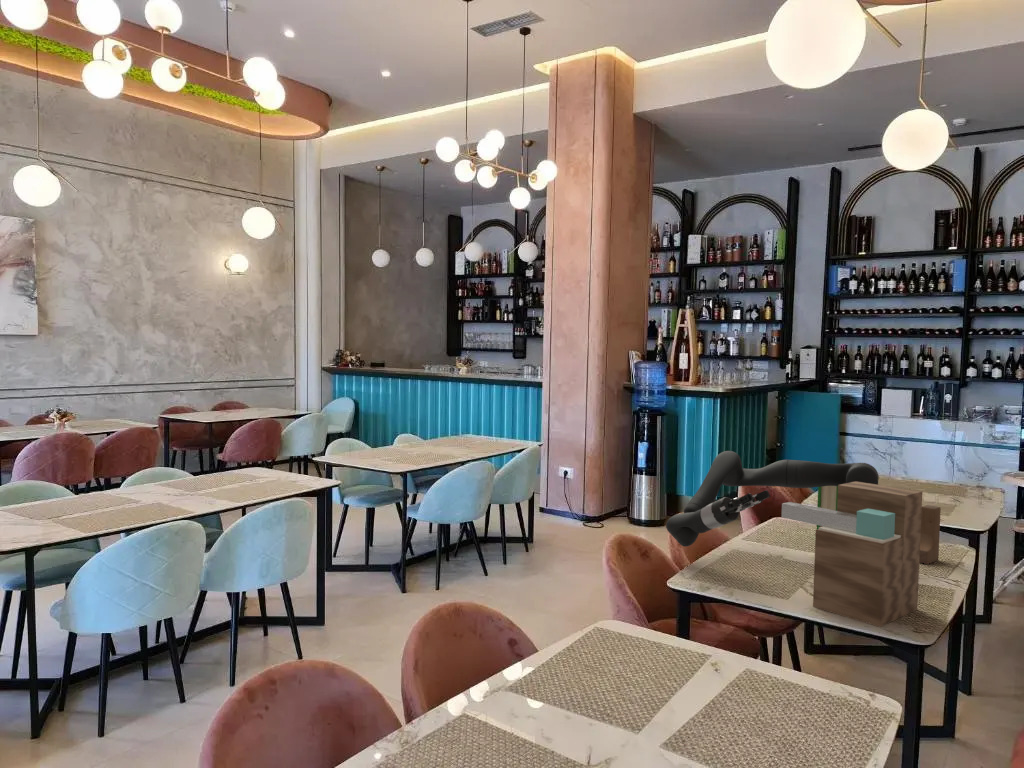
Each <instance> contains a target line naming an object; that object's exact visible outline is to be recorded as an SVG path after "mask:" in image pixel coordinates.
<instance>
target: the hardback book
mask: <svg viewBox="0 0 1024 768" xmlns="http://www.w3.org/2000/svg"><path fill="white" fill-rule="evenodd" d="M837 501H838V486H822V487H817V506H816V507H819V508H824V509H830V510H835V511H837ZM819 527H823V526H820V525H816V530H817V529H819Z"/></svg>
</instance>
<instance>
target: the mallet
mask: <svg viewBox="0 0 1024 768" xmlns="http://www.w3.org/2000/svg"><path fill="white" fill-rule="evenodd" d="M782 518H783V519H787V520H792V521H797V522H801V523H805V524H811V525H815V526H817V525H820V526H824V527H829V528H834V529H839V530H844V531H848V532H853V533H856V534H858V535H863V536H868V537H872V538H877V539H882V540H884V539H887V538H891V537H894V530H895V513H891V512H885V511H880V510H874V509H869V508H868V509H864V510H860V511H857V515H856V514H851V513H846V512H840V511H835V510H830V509H824V508H819V507H817V506H813V505H808V504H803V503H797V502H794V501H793V502H792V501H788V502H783V503H781V519H782Z"/></svg>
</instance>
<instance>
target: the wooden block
mask: <svg viewBox="0 0 1024 768" xmlns="http://www.w3.org/2000/svg"><path fill="white" fill-rule="evenodd" d="M941 510H942V509H941V507H940V506H937V505H936V506H935V505H929V504H927V505H922V513H921V536H920V559H919V564H921V563H924V564H923V565H926V564H927V565H929V563H930V564H932V563H934V562H937V561H939V555H940V554H939V553H940V535H941V534H940V531H941V530H940V529H941Z"/></svg>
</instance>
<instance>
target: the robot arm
mask: <svg viewBox="0 0 1024 768" xmlns="http://www.w3.org/2000/svg"><path fill="white" fill-rule="evenodd" d="M742 464H743V463H742V460H741V457H740V455H739V454H738V453H737V452H735V451H732V450H725V451H722V452H720V453H718V454H717V456H715V458H714V459H713V461H712V464H711V466H710V468H709V470H708V472H707V474H706V475H705V477H704V479H703V481H702V483H701V484H700V486H699V488H698V490H697V491H696V492H695V493H694V495H693V496H692V498H691V499H690V500H689V501H688V503H687V504H686V506H685V507H684V508H683V512H682V513H677V514H674V515H672V516H670V517H668V520H667V521H666V524H665V526H666V527H665V528H666V530H667V532H668V533H669V534H670V535H671V536H672V538H674V540H675V541H676V542H678V544H679V545H680V546H682V547H685V548H686V547H690V546H692V545H693V544H694V543H695V542H696V540H697V539H698V537H699V534H704V533H706V532H709V531H712V530H714V529H716V528H721V527H722V526H725V525H727V524H729V523H733V522H735V521H736V520H737V519H738V517H739V514H740V513H739V512H744V511H746V509H750V508H752V507H754V506H756V505H758V504H761V503H763V502H764V500H766V499H769V498H770V497H771V495H770V492H769V491H768V489H766V490H763V491H760V492H758V493H756V494H752V493H746V494H745V495H743V496H739V497H735V498H730V497H727V496H724V497H722V498H718V499H717V497H718V495H719V491H720V489H721V487H722V485H723V486H725V487H755V486H756V487H757V486H758V487H780V488H791V489H793V488H794V489H808V488H809V489H813V488H818V487H822V486H838V485H840V484H845V483H850V482H855V481H857V482H863V483H870V484H876V485H879V478H880V477H879V472H878V470H877V469H876V468H875V466H873V465H872V464H870V463H868V462H867V463H866V462H853V463H852V462H851V463H825V462H820V461H809V460H800V459H799V460H798V459H797V460H796V459H795V460H794V459H782V460H778V461H775V462H773V463H769V464H768V465H766V466H763V467H760V468H744V467H743V465H742Z"/></svg>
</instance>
